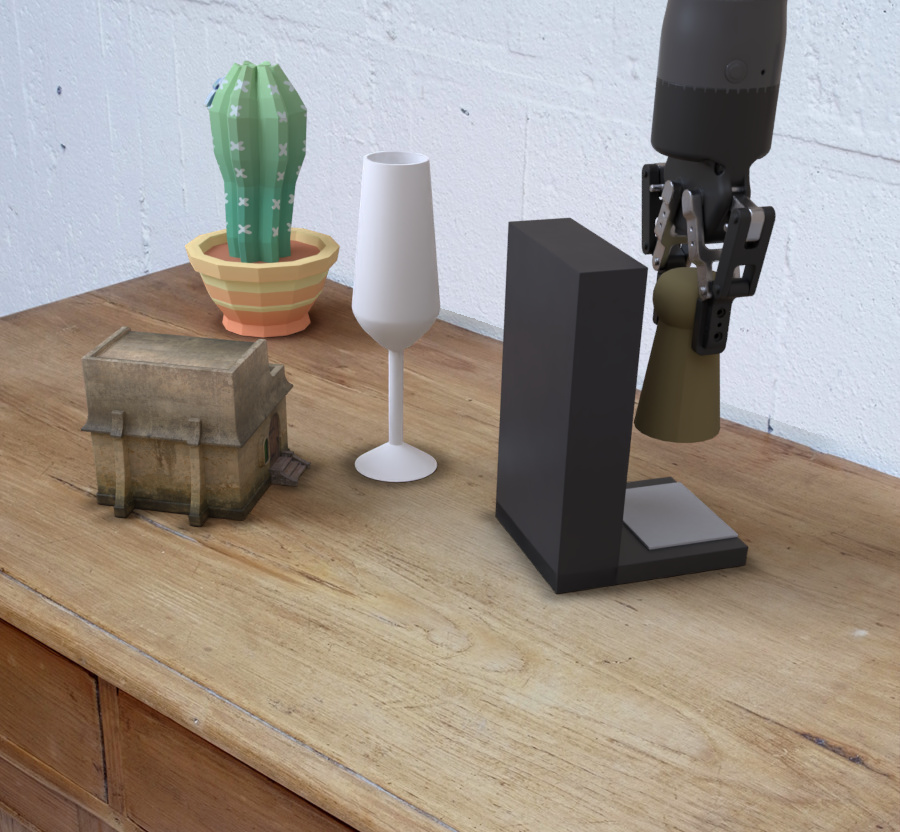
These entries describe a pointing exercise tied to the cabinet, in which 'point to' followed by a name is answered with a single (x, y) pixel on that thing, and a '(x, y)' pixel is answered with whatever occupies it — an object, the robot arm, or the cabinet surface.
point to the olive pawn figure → (678, 368)
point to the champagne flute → (396, 288)
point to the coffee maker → (586, 422)
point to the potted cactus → (260, 207)
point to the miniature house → (187, 424)
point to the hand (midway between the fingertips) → (687, 337)
